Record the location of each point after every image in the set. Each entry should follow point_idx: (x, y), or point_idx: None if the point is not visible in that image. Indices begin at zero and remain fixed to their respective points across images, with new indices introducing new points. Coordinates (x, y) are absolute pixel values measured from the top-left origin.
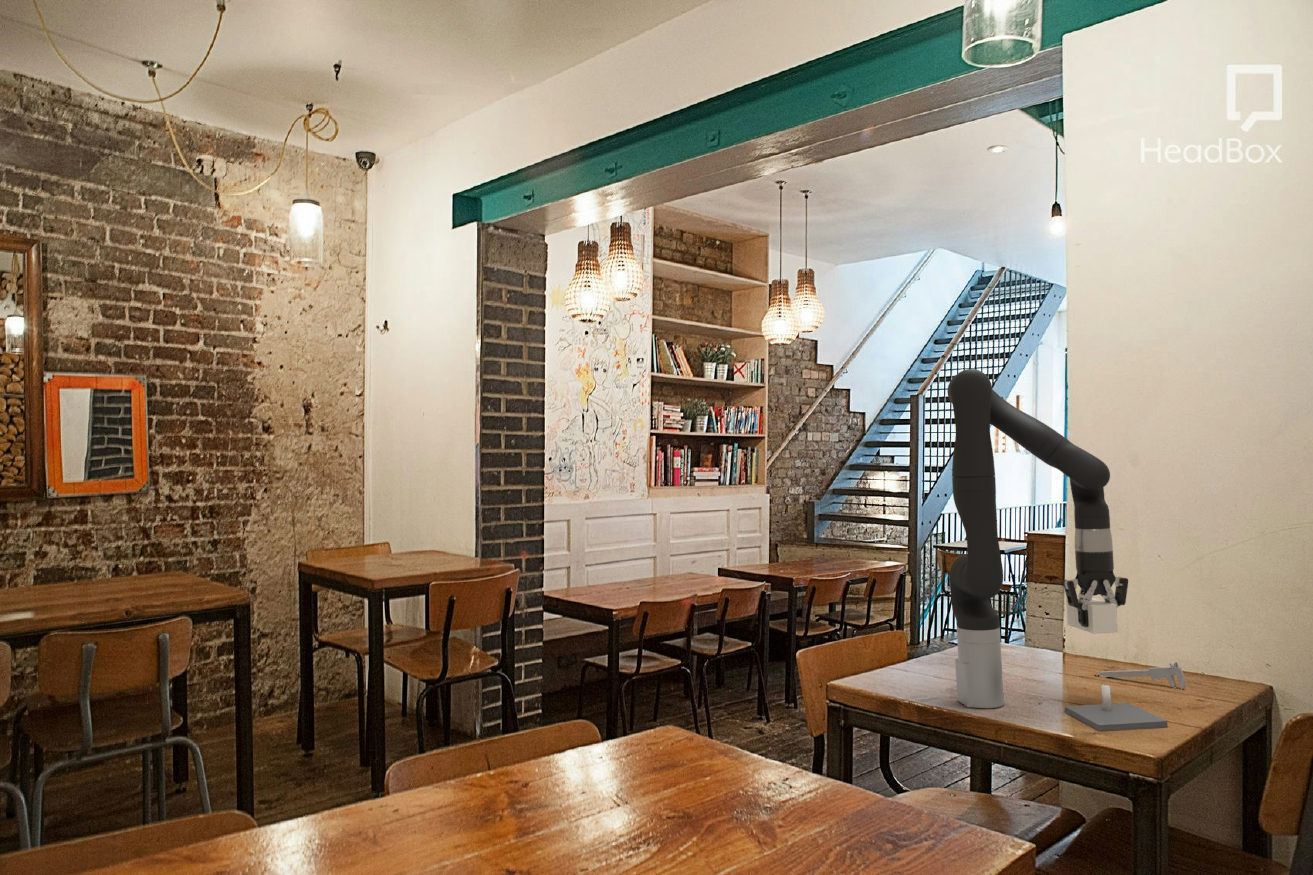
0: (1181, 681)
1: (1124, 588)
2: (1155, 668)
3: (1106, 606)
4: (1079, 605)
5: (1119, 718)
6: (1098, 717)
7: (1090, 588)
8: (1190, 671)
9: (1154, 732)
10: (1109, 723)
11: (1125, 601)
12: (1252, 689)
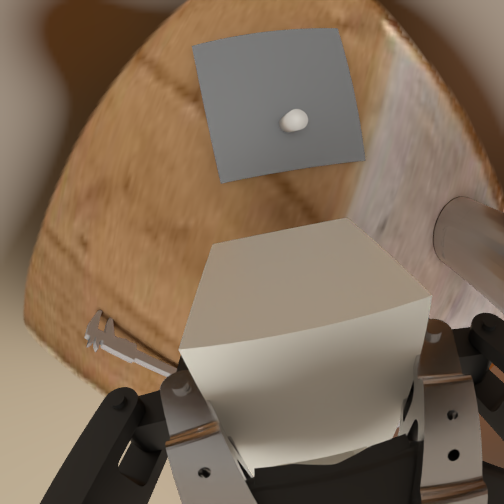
0: (95, 317)
1: (70, 485)
2: (124, 354)
3: (284, 325)
4: (459, 342)
5: (283, 61)
6: (324, 71)
7: (470, 471)
8: (91, 384)
9: (233, 19)
10: (314, 33)
11: (101, 405)
12: (29, 298)
